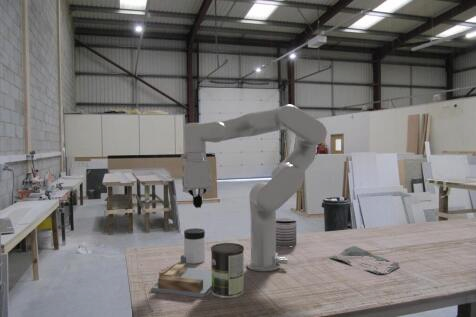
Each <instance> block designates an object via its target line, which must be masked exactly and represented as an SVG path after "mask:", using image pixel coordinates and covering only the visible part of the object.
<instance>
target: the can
mask: <svg viewBox="0 0 476 317" xmlns="http://www.w3.org/2000/svg"><path fill="white" fill-rule="evenodd" d="M295 245H296V246H297V219H295V218H284V217H283V218H281V217H279V218H276V246H279V247H278V248H280V247H290V246H295ZM296 246H295V247H296ZM290 248H291V247H290Z"/></svg>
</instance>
